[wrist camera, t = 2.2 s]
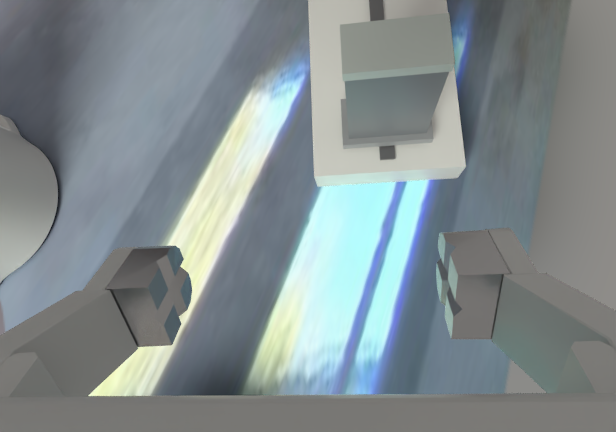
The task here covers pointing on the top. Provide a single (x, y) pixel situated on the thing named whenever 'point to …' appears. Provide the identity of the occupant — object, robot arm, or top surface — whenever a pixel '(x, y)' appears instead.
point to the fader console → (331, 89)
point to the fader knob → (393, 79)
